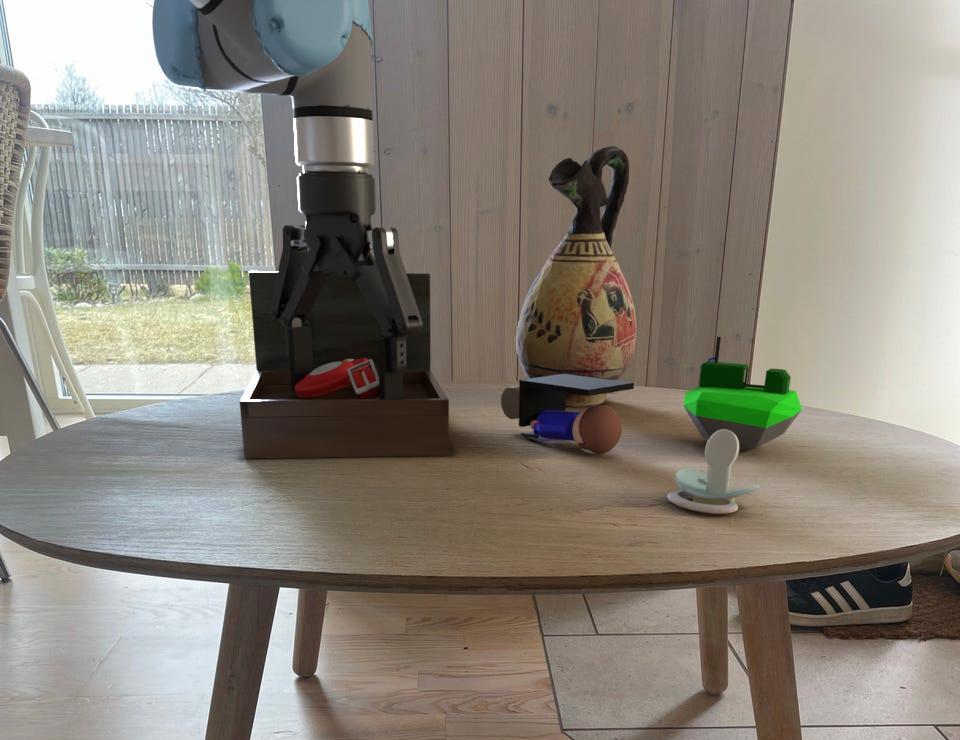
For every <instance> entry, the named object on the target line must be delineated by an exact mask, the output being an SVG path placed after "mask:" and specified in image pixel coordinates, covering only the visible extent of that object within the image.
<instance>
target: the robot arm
mask: <svg viewBox="0 0 960 740" xmlns="http://www.w3.org/2000/svg"><path fill="white" fill-rule="evenodd" d="M370 12H371V11H370V5H369V0H153V5H152V18H151V19H152V20H151V21H152V23H151V24H152V27H151V28H152V39H153V46H154V47H153V48H154V52H155V57H156V59H157V63H158V66H159V69H160V70H161V73H162V75H163V76H164V77H165V79H166V80H167V81H168V82H169V83H170V84H171V85H174V86H176V87H184V88H190V89H196V90H199V91H201V92H203V93H206V92H207V91H218V92H231V93H242V94H243V93H244V94H260V95H272V96H273V95H275V96H277V97H291V103H292V118H293V132H294V133H293V134H294V156H295V157H294V158H295V164H296V165H297V166H298V167H302V172H299V173H298V176H296V185H297V201H298V211H299V212H300V213H301V214H302V215H305V225H302V224H301V225H297V224H296V225H295V224H294V225H293V224H291V225H290V224H289V225H288V224H287V225H284V226H283V227H282V250H281V254H280V255H281V256H280V259H279V264H278V267H277V272H278V273H277V277H276V282H275V286H274V290H273V295H272V299H271V304H270V308H269V316H270V317H271V318H272V319H277V320H279V321H280V322H281V324H282V325H283V326H284V328H285V341H286V353H287V356H288V357H289V359H290V374H291V389H292V390H294V391H295V385H296V384H297V383H298V382H300V381H301V380H302V379H304V378H305V377H306V376H307V374H308V373H310V372H311V371H312V370H313V354H312V336H311V327H310V326H302V325H308V324H309V322H308V320H307V317H308V315H309V313H310V311H311V309H312V307H313V305H314V303H315V301H316V299H317V297H318V295H319V293H320V290H321V288H322V286H323V284H324V282H325V280H326V278H327V277H328V276H330V275H331V274H332V273H337V274H343V275H347V274H348V276H349V277H350V278H351V279H352V280H354V281H355V282H356V284H357V286H358V287H359V289H360V291H361V293H362V295H363V296H364V298H365V300H366V302H367V304H368V305H369V307H370V309H371V311H372V313H373V315H374V316H375V318H376V320H377V322H378V324H379V325H380V327H381V329H382V331H383V333H382V334H381V335H380V337H381V338H378V360H379V394H380V399H403V382H402V371H403V370H405V369H406V366H407V360H406V359H407V358H406V339H407V336H408V335H409V334H411V333H413V332H416V331H420V330H421V329H422V328H423V322H422V319H421V316H420V313H419V310H418V307H417V304H416V301H415V298H414V295H413V292H412V289H411V286H410V283H409V280H408V277H407V274H406V273H407V272H406V268H405V265H404V262H403V259H402V256H401V253H400V242H399V231H398V230H397V228H396V227H382V226H381V227H380V226H377V227H373V225H372V216H374V215H375V214H376V210H377V208H376V207H377V206H376V203H377V202H376V178H374V175H373V174H370V173H369V169H371V168H373V167H374V165H375V157H374V156H375V154H374V153H375V151H374V121H373V117H374V116H373V74H372V72H373V71H372V66H373V65H372V46H373V35H372V27H371V14H370ZM371 251H373V254H372V252H371ZM379 273H380V275H379ZM282 304H284V306H283V307H282Z"/></svg>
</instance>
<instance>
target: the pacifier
mask: <svg viewBox="0 0 960 740" xmlns="http://www.w3.org/2000/svg"><path fill="white" fill-rule="evenodd" d="M739 453H740V451H739V441H738V438H737V437H736V435H735V434H734V433H733V432H732V431H730V430H727V429H721V430H718V431H716V432H715V433H714V434H712V436H711V437H710V438H709V440H707V442H706V445H705V448H704V458H705V462H706V464H707V471H706V474H705V473H704V472H702V471H699V470H696V469H693V468H688V467H684V468H680V469H679V470H677V472H676V474H675V483H676V485H677V486H678V487H679V488H680V490H676V491H672V492H669V493H668V495H667V499H668V500H669V502H671V504H674V505H676V506H678V507H681V508H683V509H687V510H690V511H695V512H700V513H707V514H717V515H718V514H719V515H721V514H723V515H724V514H732V513H735V512H736V511H738V510H739V505H738V504H737V502H735V501H736V499H737V498H742V497H744V496H747V495H750V494H752V493H755V492H756V491H758V490H760V486H761V485H760V484H757V485H753V486H750V487H746V488H737V489H729V485H730V478H731V471H732V470H731V469H732V465H733V464H734V463H735V461H736V460H737V458H738V455H739ZM699 482H700V483H699ZM701 483H702V484H701ZM689 499H692V500H689Z"/></svg>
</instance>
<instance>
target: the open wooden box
mask: <svg viewBox="0 0 960 740" xmlns="http://www.w3.org/2000/svg"><path fill="white" fill-rule="evenodd" d="M277 273H278V271H274V270H273V271H271V270H270V271H266V270H265V271H264V270H263V271H261V270H259V271H258V270H250V271H248V282H249V293H250V305H251V319H252V331H253V343H254V354H255V355H254V356H255V368H256V371H255V373H254V375H253V376H252V377H251V380H250V382H249V384H248V386H247V387H246V389H245V391H244V393H243V395H242V396H241V398H240V401H239V411H240V422H241V432H242V434H241V435H242V444H243V455H244V457H243V458H244V459H245V460H246V459H249V460H250V459H312V458H314V459H315V458H374V457H375V458H376V457H377V458H379V457H381V458H382V457H383V458H384V457H435V456H436V457H437V456H438V457H439V456H440V457H441V456H442V457H443V456H444V457H445V456H446V457H447V456H449V455H450V434H449V433H450V432H449V431H450V400H449V398H448V397H447V394H446V393H445V392H444V390H443V388H442V387H441V384H440V382H439V381H438V380H437V378H436V376H435V375H434V373H433V372H432V370H431V368H432V366H431V365H432V364H431V361H432V360H431V358H432V357H431V356H432V355H431V348H432V347H431V346H432V345H431V273H429V272H406V274H407V277H408V280H409V283H410V286H411V289H412V292H413V295H414V298H415V301H416V304H417V307H418V310H419V313H420V316H421V319H422V322H423V328H422V329H421V330H420V331H416V332H413V333H411V334H409V335H408V336H407V339H406V358H407V359H406V360H407V366H406V369H405V370H403V371H402V382H403V399H380V395H379V396H377V397H374V398H372V399H361V394H359V395H357V394H356V392H355V390H354V387H353V385H352V384H350V385H348V386H346V387H344V388H341V389H339V390H337V391H334V392H331V393H328V394H325V395H321V396H317V397H312V398H299V397H298V396H297V394H296V391H294V390H292V389H291V374H290V359H289V357H288V356H287V353H286V341H285V328H284V326H283V325H282V324H281V322H280V321H279V320H277V319H272V318H271V317H270V316H269V308H270V304H271V299H272V295H273V290H274V286H275V282H276V277H277ZM379 275H380V273H379ZM283 306H284V304H282V307H283ZM307 320H308V322H309V324H308V325H302V326H310V327H311V336H312V354H313V370H314V369H316V368H318V367H320V366H322V365H324V364H327V363H330V362H334V361H343V360H345V359H354V360H356V359H362V358H367V360H369V359H371V360H372V361H373V363H374V366H375V368H376V371H377V373H378V376H379V360H378V338H381V337H380V335H381V334H382V333H383V331H382V329H381V327H380V325H379V324H378V322H377V320H376V318H375V316H374V315H373V313H372V311H371V309H370V307H369V305H368V304H367V302H366V300H365V298H364V296H363V295H362V293H361V291H360V289H359V287H358V286H357V284H356V282H355V281H354V280H352V279H351V278H350V277H349V276H348V274H347V275H343V274H337V273H332V274H331V275H330V276H328V277H327V278H326V280H325V282H324V284H323V286H322V288H321V290H320V293H319V295H318V297H317V299H316V301H315V303H314V305H313V307H312V309H311V311H310V313H309V315H308V317H307ZM369 367H370V368H371V370H372V367H371V365H370V364H369ZM372 372H373V370H372ZM373 374H374V372H373ZM374 376H375V375H374ZM378 387H379V386H378ZM357 388H358V387H357Z"/></svg>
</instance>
